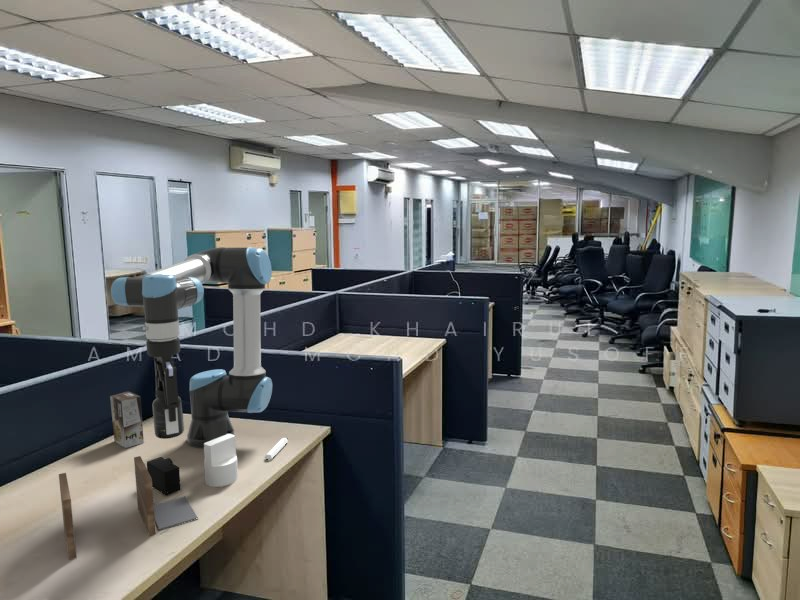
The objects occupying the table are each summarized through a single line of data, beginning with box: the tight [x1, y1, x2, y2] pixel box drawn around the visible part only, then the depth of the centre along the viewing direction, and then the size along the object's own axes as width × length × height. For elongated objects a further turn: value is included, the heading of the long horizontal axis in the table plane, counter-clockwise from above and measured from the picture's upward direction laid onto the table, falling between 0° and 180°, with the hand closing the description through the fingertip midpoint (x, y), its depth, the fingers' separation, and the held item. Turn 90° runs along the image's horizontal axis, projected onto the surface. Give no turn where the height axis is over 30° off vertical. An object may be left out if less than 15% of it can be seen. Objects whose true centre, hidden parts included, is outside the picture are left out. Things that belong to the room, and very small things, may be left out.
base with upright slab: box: [203, 434, 239, 488], centre depth 160 cm, size 9×9×12 cm
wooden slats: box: [58, 455, 157, 560], centre depth 133 cm, size 18×15×14 cm
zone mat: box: [154, 495, 199, 531], centre depth 143 cm, size 9×13×1 cm
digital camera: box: [146, 456, 182, 497], centre depth 156 cm, size 10×5×7 cm, turn 49°
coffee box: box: [109, 390, 145, 449], centre depth 186 cm, size 9×6×16 cm
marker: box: [264, 437, 289, 461], centre depth 181 cm, size 3×2×16 cm
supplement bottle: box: [151, 386, 185, 440], centre depth 139 cm, size 7×7×12 cm
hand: (169, 428), depth 139 cm, fingers closed on supplement bottle, 7 cm apart
